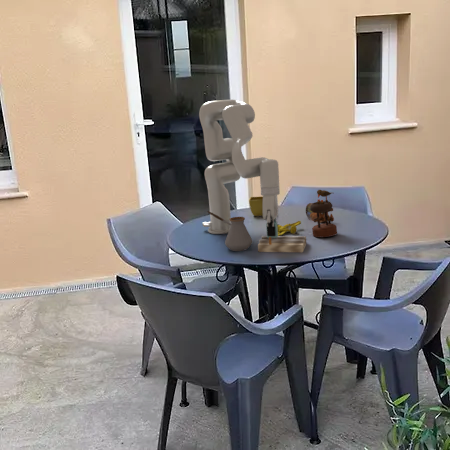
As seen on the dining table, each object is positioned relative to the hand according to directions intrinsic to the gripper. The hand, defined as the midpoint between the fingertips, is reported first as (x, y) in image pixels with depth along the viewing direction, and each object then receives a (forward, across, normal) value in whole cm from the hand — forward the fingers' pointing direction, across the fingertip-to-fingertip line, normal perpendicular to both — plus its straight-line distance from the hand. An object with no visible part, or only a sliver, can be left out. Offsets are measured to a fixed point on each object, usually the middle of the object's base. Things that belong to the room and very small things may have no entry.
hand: (272, 234), depth 216 cm
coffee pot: (+6, 0, -19) cm, 20 cm away
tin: (+6, -43, +14) cm, 46 cm away
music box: (+6, -18, +19) cm, 27 cm away
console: (+6, 0, +4) cm, 7 cm away
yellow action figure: (+6, -23, -1) cm, 24 cm away
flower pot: (+6, -55, -17) cm, 58 cm away
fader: (+2, 0, 0) cm, 2 cm away
